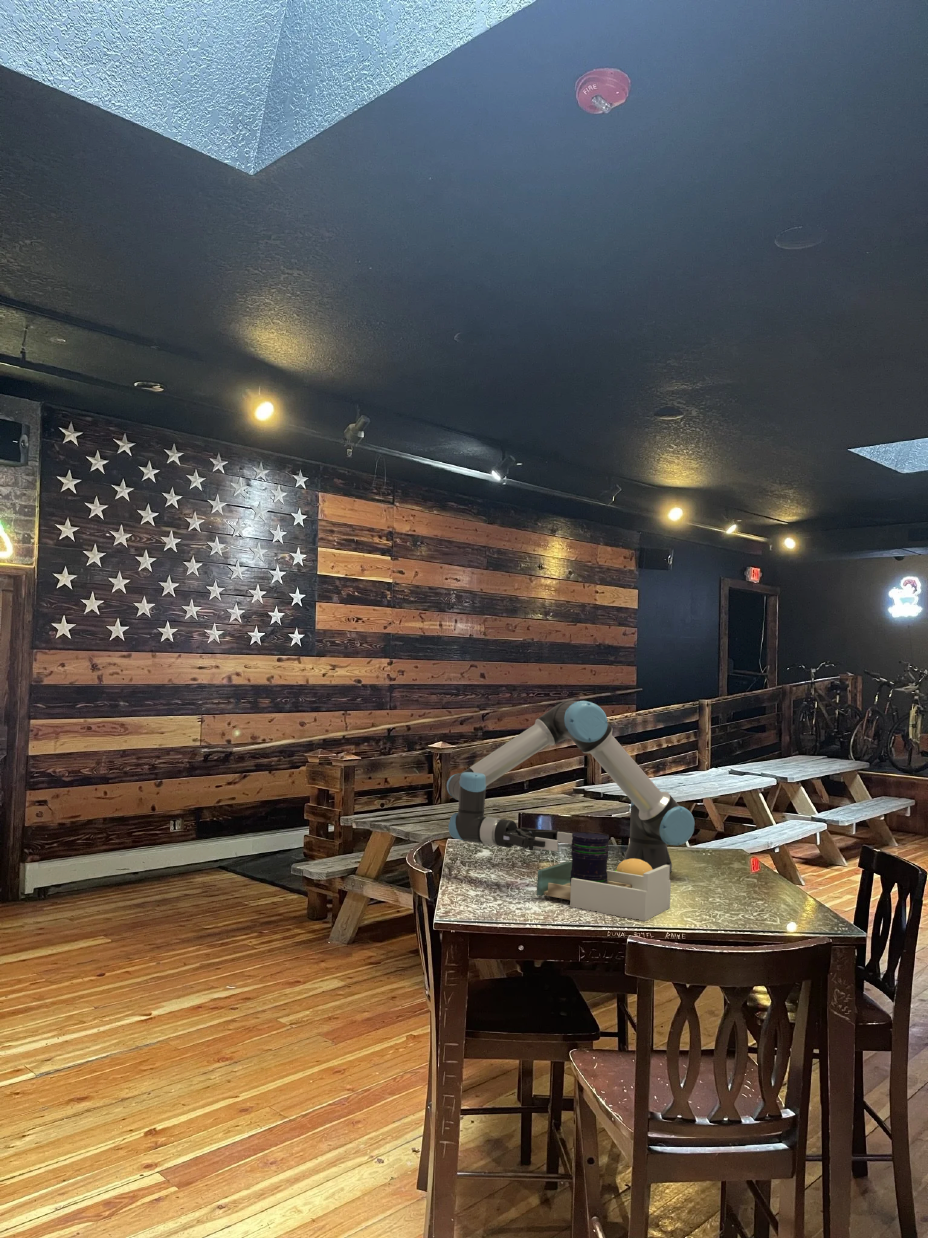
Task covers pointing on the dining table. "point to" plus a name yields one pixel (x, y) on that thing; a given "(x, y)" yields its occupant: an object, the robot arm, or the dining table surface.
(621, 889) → the dock
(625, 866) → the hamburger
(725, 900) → the dining table surface
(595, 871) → the storage jar
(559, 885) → the tray
